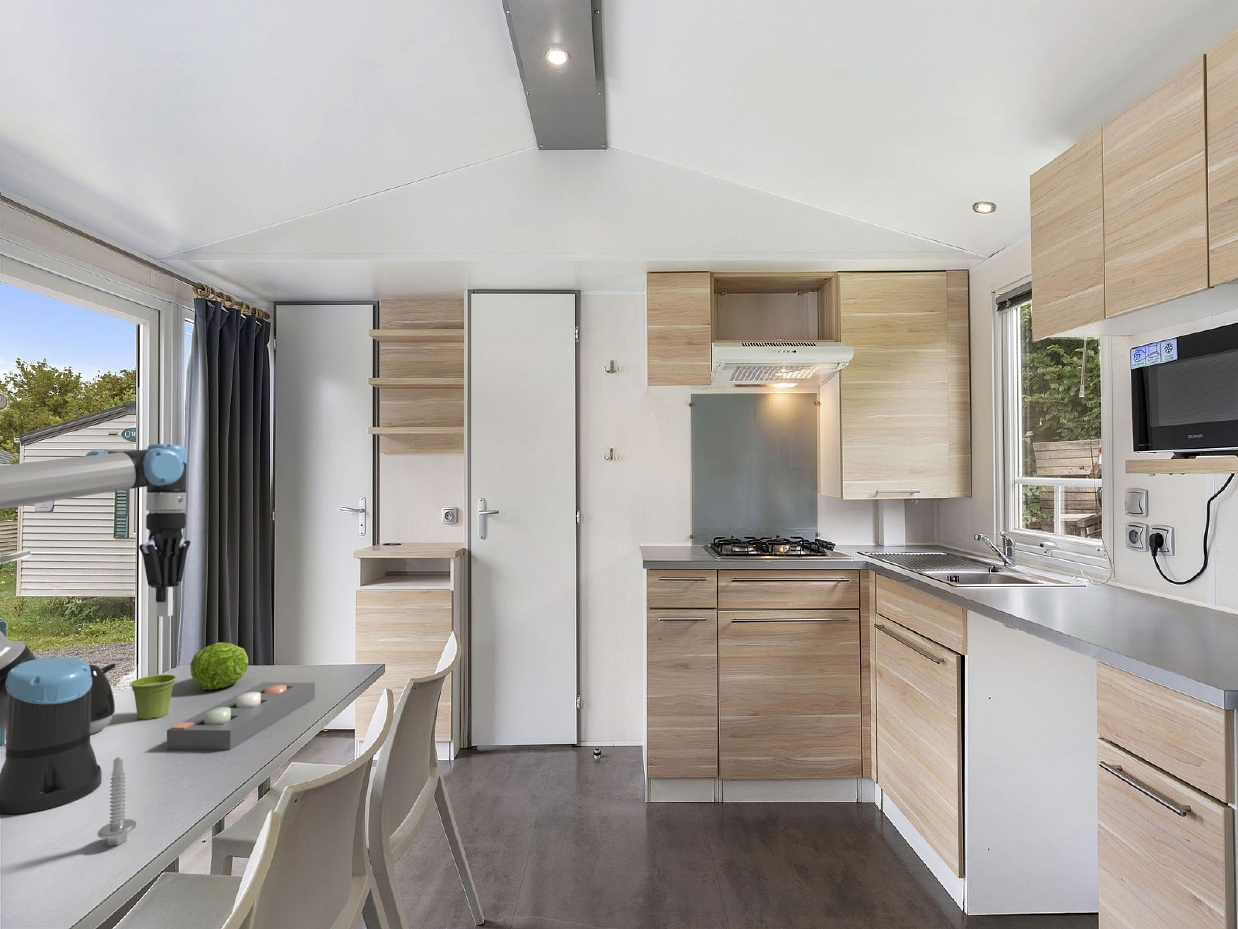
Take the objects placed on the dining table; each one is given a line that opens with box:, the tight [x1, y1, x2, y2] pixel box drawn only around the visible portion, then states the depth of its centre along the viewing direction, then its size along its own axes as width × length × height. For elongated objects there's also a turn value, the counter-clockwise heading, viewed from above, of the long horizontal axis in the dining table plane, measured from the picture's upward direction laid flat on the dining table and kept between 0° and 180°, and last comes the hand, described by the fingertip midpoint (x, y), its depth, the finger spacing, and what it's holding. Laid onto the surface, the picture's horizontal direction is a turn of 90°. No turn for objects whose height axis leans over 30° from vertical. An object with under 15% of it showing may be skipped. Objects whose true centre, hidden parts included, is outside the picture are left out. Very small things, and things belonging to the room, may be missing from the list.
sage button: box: [204, 707, 231, 725], centre depth 146 cm, size 5×5×4 cm
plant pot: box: [129, 673, 178, 720], centre depth 162 cm, size 9×9×9 cm
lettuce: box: [190, 642, 249, 691], centre depth 189 cm, size 13×22×14 cm
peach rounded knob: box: [264, 685, 287, 693], centre depth 168 cm, size 5×5×4 cm
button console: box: [166, 682, 316, 751], centre depth 157 cm, size 34×14×4 cm, turn 176°
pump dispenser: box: [88, 663, 116, 735], centre depth 151 cm, size 10×10×15 cm
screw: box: [96, 756, 137, 847], centre depth 103 cm, size 13×5×5 cm
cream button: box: [236, 692, 261, 708], centre depth 157 cm, size 5×5×4 cm
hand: (164, 615), depth 151 cm, fingers closed
